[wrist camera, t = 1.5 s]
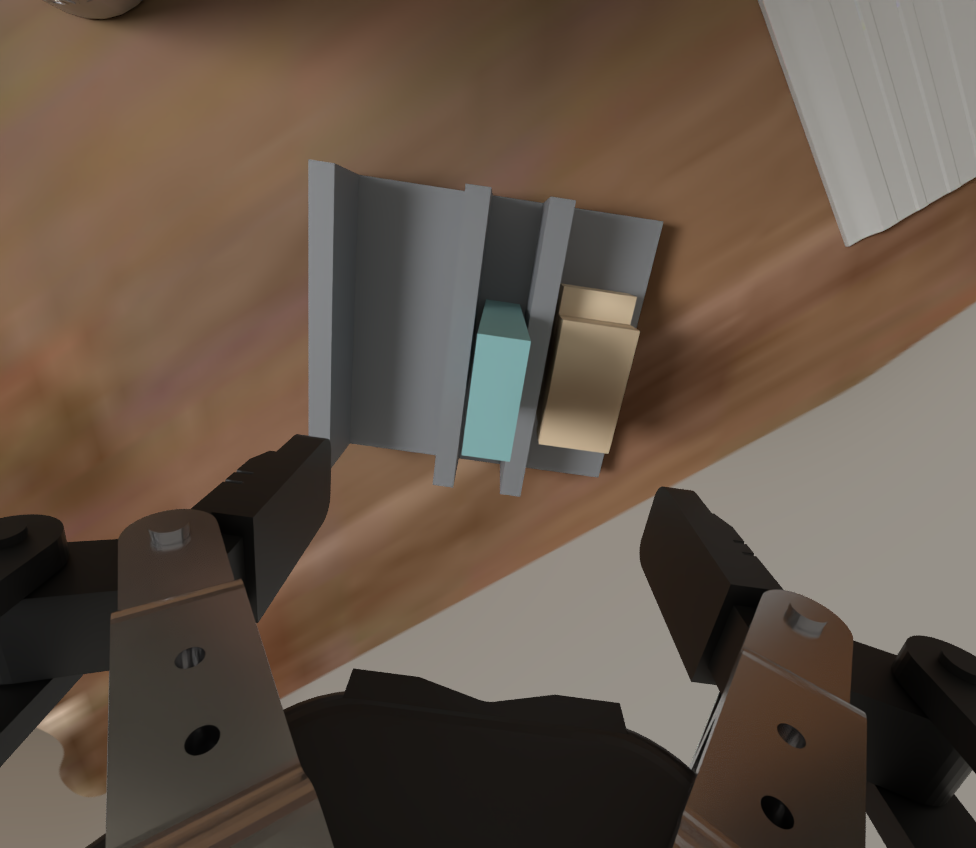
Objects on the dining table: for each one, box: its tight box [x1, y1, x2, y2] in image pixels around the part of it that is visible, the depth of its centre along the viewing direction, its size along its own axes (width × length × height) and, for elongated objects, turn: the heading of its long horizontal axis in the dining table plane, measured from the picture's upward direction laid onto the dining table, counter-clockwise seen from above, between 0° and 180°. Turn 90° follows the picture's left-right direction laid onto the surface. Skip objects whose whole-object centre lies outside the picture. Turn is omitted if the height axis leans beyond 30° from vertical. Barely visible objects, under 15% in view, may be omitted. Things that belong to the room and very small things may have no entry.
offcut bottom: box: [536, 283, 637, 421], centre depth 28 cm, size 8×4×2 cm, turn 172°
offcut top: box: [536, 314, 640, 454], centre depth 26 cm, size 7×4×2 cm, turn 172°
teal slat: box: [462, 299, 531, 462], centre depth 23 cm, size 5×2×11 cm, turn 172°
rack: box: [309, 160, 663, 496], centre depth 27 cm, size 16×18×6 cm
